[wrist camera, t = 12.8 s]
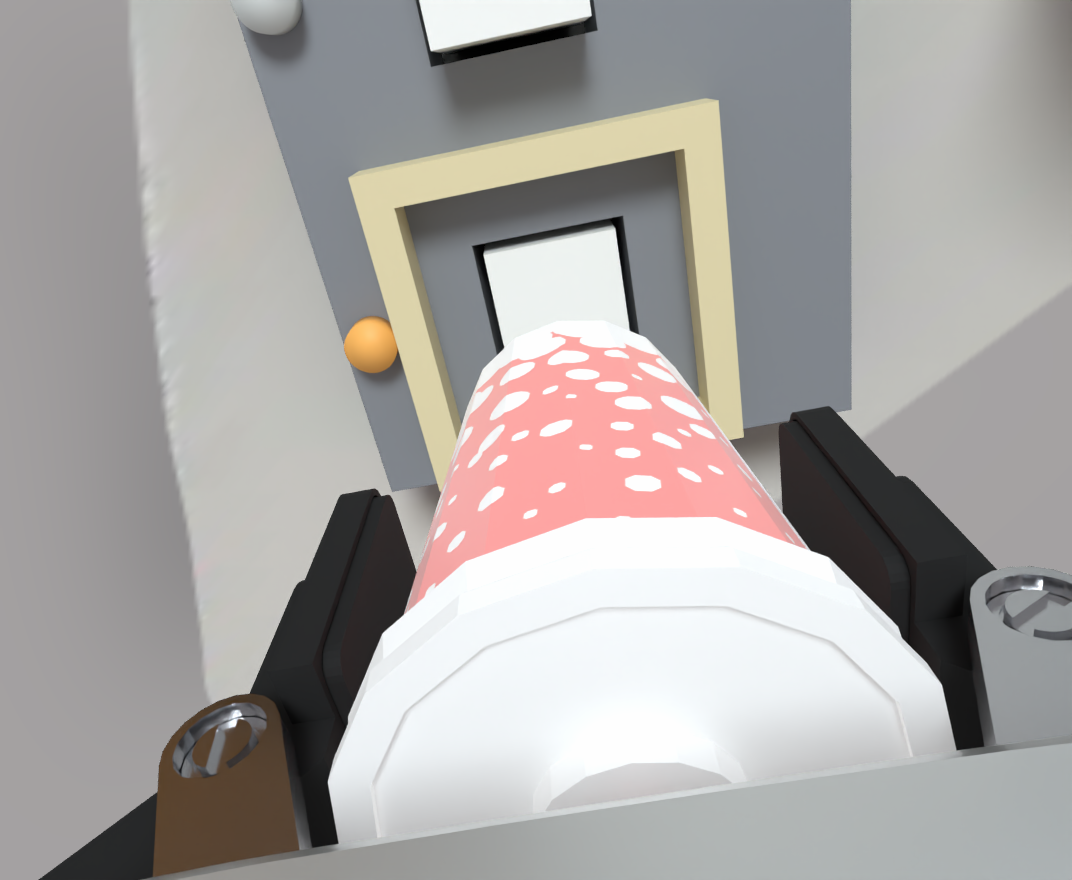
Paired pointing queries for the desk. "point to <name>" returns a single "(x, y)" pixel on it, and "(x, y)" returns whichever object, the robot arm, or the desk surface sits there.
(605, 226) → the block
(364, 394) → the gray panel board
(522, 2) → the block
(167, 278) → the desk surface
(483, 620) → the beverage cup
